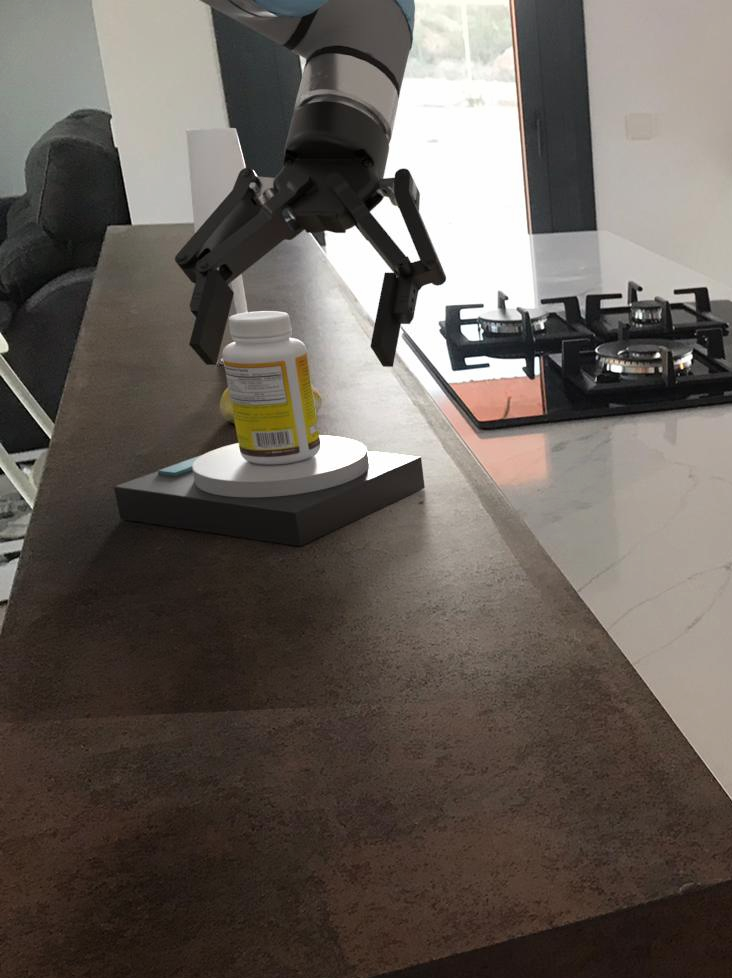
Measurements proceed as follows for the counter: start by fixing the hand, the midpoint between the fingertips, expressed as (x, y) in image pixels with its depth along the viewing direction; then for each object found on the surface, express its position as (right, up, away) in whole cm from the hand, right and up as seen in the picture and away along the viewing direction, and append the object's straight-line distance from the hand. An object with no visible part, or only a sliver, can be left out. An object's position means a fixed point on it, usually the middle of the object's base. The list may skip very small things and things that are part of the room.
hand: (291, 356), depth 95 cm
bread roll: (-11, -1, +24) cm, 26 cm away
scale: (-1, -11, 0) cm, 11 cm away
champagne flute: (-23, +8, +46) cm, 53 cm away
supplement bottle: (0, -8, -1) cm, 8 cm away
